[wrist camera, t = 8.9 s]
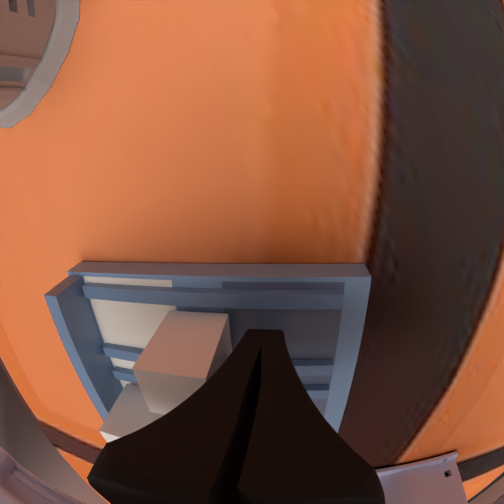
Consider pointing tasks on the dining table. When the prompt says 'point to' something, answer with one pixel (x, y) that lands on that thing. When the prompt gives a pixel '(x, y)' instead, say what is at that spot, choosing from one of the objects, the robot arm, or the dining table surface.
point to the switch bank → (213, 301)
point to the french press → (32, 52)
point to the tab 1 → (127, 414)
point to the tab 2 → (181, 357)
